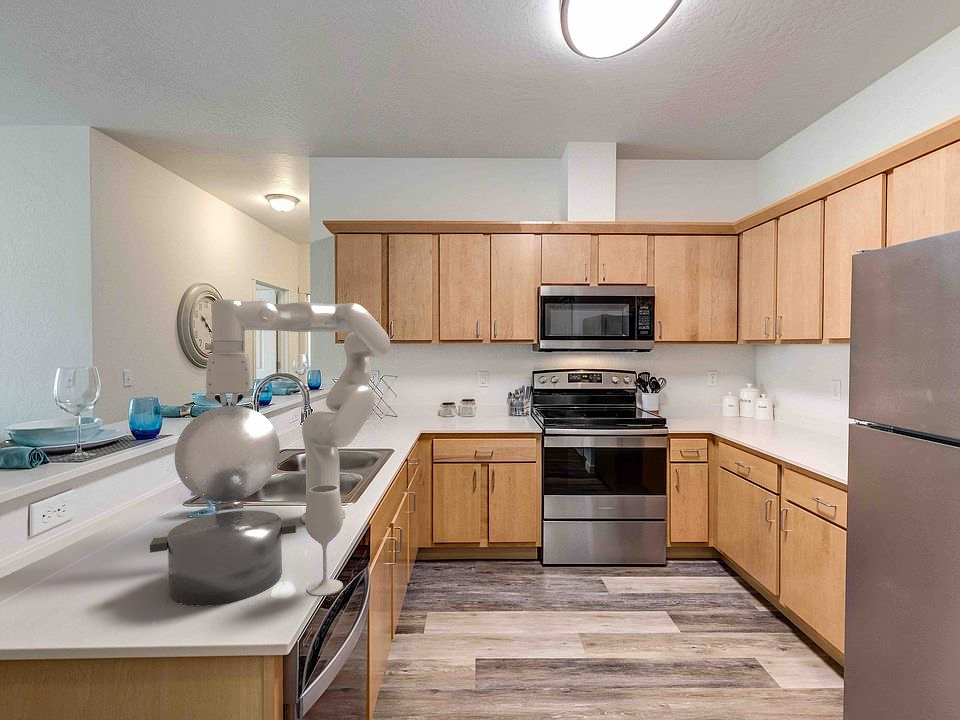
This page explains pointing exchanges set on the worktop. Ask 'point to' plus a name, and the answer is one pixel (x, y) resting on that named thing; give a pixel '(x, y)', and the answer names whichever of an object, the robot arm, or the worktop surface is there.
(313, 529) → the wineglass
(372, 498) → the worktop surface
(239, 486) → the lid
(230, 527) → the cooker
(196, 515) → the light blue angular piece
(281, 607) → the worktop surface
